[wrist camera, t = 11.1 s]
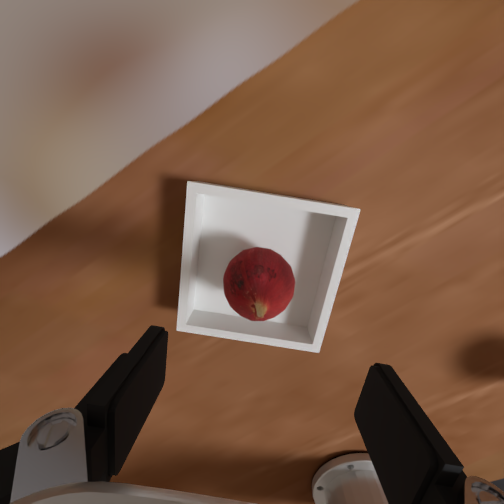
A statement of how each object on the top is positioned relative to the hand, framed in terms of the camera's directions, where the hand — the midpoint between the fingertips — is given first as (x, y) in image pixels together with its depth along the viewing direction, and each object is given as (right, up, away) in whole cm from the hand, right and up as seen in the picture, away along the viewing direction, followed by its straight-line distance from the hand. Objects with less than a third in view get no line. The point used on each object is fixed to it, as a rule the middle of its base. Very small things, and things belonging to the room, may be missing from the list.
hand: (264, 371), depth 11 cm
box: (0, +4, +13) cm, 13 cm away
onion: (0, +4, +12) cm, 13 cm away
